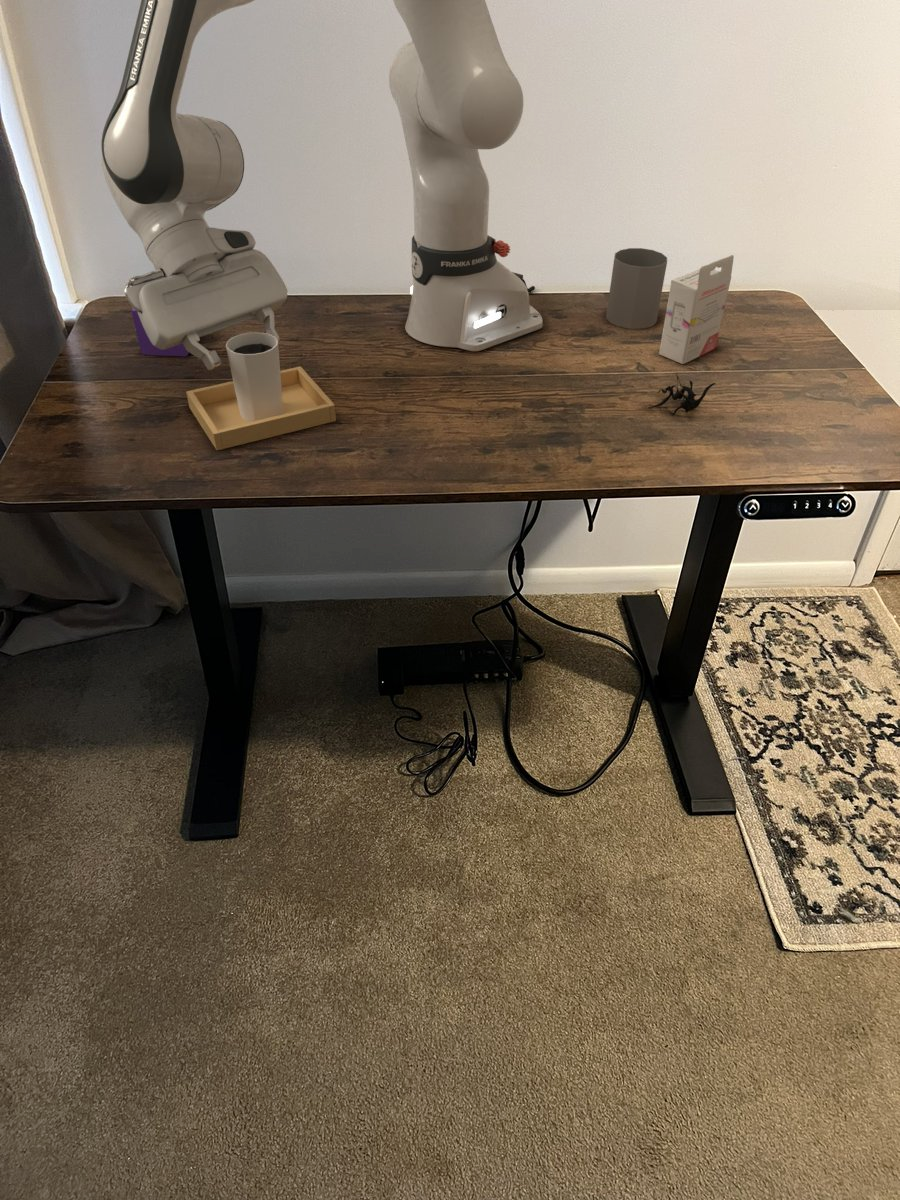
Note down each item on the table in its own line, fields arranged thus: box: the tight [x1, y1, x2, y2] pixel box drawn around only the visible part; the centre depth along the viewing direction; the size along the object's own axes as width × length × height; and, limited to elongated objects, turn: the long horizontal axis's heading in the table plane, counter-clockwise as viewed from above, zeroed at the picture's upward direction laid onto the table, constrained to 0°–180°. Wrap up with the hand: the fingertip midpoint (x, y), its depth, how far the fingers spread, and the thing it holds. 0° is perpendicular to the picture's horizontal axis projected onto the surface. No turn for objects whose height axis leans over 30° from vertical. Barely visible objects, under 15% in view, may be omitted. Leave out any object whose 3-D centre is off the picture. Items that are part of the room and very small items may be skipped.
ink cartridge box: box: [658, 254, 735, 365], centre depth 129 cm, size 9×5×15 cm, turn 131°
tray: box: [185, 366, 337, 451], centre depth 117 cm, size 17×13×2 cm
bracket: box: [131, 307, 190, 357], centre depth 133 cm, size 12×7×7 cm, turn 176°
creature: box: [648, 372, 717, 416], centre depth 119 cm, size 8×5×8 cm
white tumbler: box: [225, 331, 283, 422], centre depth 115 cm, size 7×7×10 cm
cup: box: [605, 247, 668, 330], centre depth 140 cm, size 8×8×10 cm
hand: (245, 355), depth 114 cm, fingers open, 8 cm apart
